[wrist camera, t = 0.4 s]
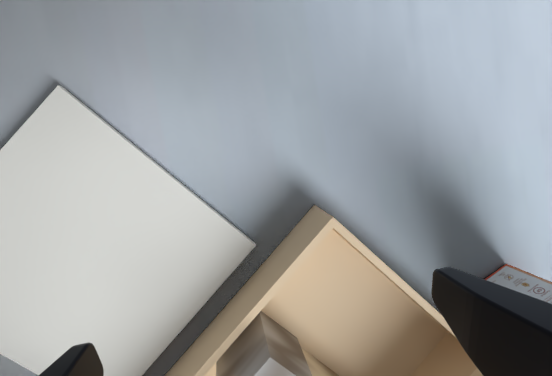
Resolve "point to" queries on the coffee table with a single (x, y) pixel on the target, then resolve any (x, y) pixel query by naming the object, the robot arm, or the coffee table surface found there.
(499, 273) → the cracker box
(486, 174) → the coffee table surface
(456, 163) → the coffee table surface
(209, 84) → the coffee table surface
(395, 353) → the carton
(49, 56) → the coffee table surface
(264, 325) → the grey and cream hammer
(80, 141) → the grey mat
